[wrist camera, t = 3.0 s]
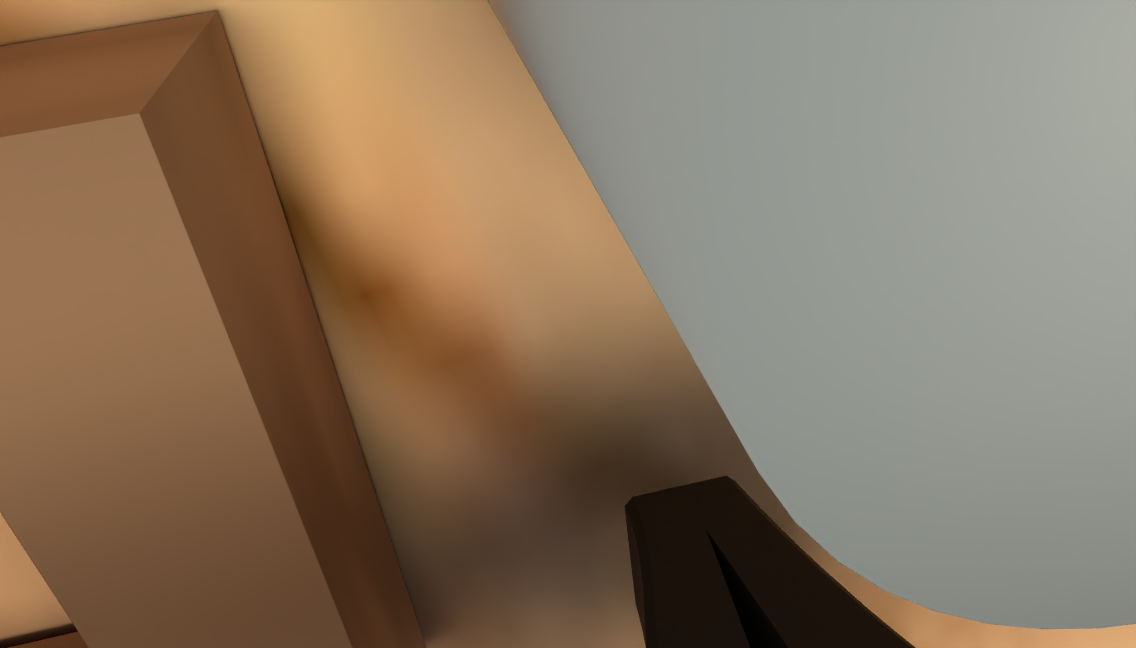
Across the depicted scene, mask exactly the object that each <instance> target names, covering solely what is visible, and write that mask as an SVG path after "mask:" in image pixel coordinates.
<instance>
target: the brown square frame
mask: <svg viewBox="0 0 1136 648" xmlns="http://www.w3.org/2000/svg"><path fill="white" fill-rule="evenodd" d="M0 513H1V514H2V516H3V517H4V519H5V520H6V522H7V523H8V525H9V526H10V528H11V530H12V531H13V533H14V534H15V536H16V537H17V539H18V540H19V542H20V543H21V545H22V546H23V548H24V549H25V551H26V552H27V554H28V555H29V557H30V559H31V560H32V562H33V563H34V565H35V566H36V568H37V569H38V571H39V572H40V574H41V575H42V577H43V578H44V580H45V581H46V583H47V584H48V586H49V588H50V589H51V591H52V592H53V594H54V595H55V597H56V598H57V600H58V601H59V603H60V604H61V606H62V607H63V609H64V610H65V612H66V614H67V615H68V617H69V618H70V620H71V621H72V623H73V624H74V626H75V627H76V629H77V630H78V632H75V633H70V634H66V635H61V636H57V637H53V638H48V639H44V640H40V641H35V642H31V643H27V644H22V645H18V646H13V647H9V648H426V646H425V643H424V640H423V637H422V634H421V631H420V628H419V625H418V622H417V619H416V616H415V613H414V610H413V607H412V604H411V601H410V598H409V595H408V591H407V588H406V585H405V582H404V579H403V576H402V573H401V570H400V567H399V564H398V561H397V558H396V555H395V552H394V549H393V546H392V543H391V540H390V536H389V533H388V530H387V527H386V524H385V521H384V518H383V515H382V512H381V509H380V506H379V503H378V500H377V497H376V494H375V491H374V488H373V485H372V481H371V478H370V475H369V472H368V469H367V466H366V463H365V460H364V457H363V454H362V451H361V448H360V445H359V442H358V439H357V436H356V433H355V430H354V426H353V423H352V420H351V417H350V414H349V411H348V408H347V405H346V402H345V399H344V396H343V393H342V390H341V387H340V384H339V381H338V378H337V375H336V372H335V368H334V365H333V362H332V359H331V356H330V353H329V350H328V347H327V344H326V341H325V338H324V335H323V332H322V329H321V326H320V323H319V320H318V317H317V313H316V310H315V307H314V304H313V301H312V298H311V295H310V292H309V289H308V286H307V283H306V280H305V277H304V274H303V271H302V268H301V265H300V262H299V258H298V255H297V252H296V249H295V246H294V243H293V240H292V237H291V234H290V231H289V228H288V225H287V222H286V219H285V216H284V213H283V210H282V207H281V203H280V200H279V197H278V194H277V191H276V188H275V185H274V182H273V179H272V176H271V173H270V170H269V167H268V164H267V161H266V158H265V155H264V152H263V148H262V145H261V142H260V139H259V136H258V133H257V130H256V127H255V124H254V121H253V118H252V115H251V112H250V109H249V106H248V103H247V100H246V97H245V93H244V90H243V87H242V84H241V81H240V78H239V75H238V72H237V69H236V66H235V63H234V60H233V57H232V54H231V51H230V48H229V45H228V42H227V39H226V35H225V32H224V29H223V26H222V23H221V20H220V17H219V14H218V11H212V12H206V13H200V14H194V15H188V16H182V17H176V18H170V19H164V20H158V21H152V22H146V23H139V24H133V25H127V26H121V27H115V28H109V29H103V30H97V31H91V32H85V33H79V34H72V35H66V36H60V37H54V38H48V39H42V40H36V41H30V42H24V43H18V44H12V45H6V46H0Z"/></svg>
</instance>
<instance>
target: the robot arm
mask: <svg viewBox="0 0 1136 648" xmlns="http://www.w3.org/2000/svg"><path fill="white" fill-rule="evenodd" d="M625 513H626V522H627V531H628V540H629V549H630V557H631V566H632V575H633V584H634V593H635V601H636V606H637V610H638V614H639V618H640V622H641V626H642V630H643V635H644V640H645V645H646V648H915V647H914V646H913V645H911V644H910V643H909V642H908V641H906V640H905V639H904V638H903V637H902V636H900V635H899V634H898V633H897V632H895V631H894V630H893V629H892V628H890V627H889V626H888V625H887V624H885V623H884V622H883V621H882V620H881V619H880V618H878V617H877V616H876V615H875V614H874V613H872V612H871V611H870V610H869V609H868V608H867V607H865V606H864V605H863V604H862V603H861V602H860V601H858V600H857V599H856V598H855V597H854V596H853V595H852V594H851V593H849V592H848V591H847V590H846V589H845V588H844V587H843V586H842V585H840V584H839V583H838V582H837V581H836V580H835V579H834V578H833V577H831V576H830V575H829V574H828V573H827V572H826V571H825V570H824V569H823V568H821V567H820V566H819V565H818V564H817V563H816V562H815V561H814V560H813V559H812V558H811V557H810V556H809V555H807V554H806V553H805V552H804V551H803V550H802V549H801V548H800V547H799V546H798V545H797V544H796V543H795V542H794V541H793V540H792V539H791V538H790V537H789V536H788V535H787V534H786V533H785V532H784V531H783V530H782V529H781V528H780V527H779V526H778V525H777V524H776V523H775V522H774V521H773V520H772V519H771V518H770V517H769V516H768V515H767V514H766V513H765V512H764V511H763V510H762V509H761V508H760V507H759V506H758V505H757V504H756V503H755V502H754V501H753V500H752V499H751V498H750V497H749V496H748V495H747V494H746V492H745V491H744V490H743V489H742V488H741V487H740V486H739V485H738V484H737V483H736V482H735V481H734V480H732V479H731V478H729V477H728V476H723V477H719V478H714V479H710V480H705V481H701V482H697V483H692V484H688V485H683V486H679V487H674V488H670V489H666V490H661V491H657V492H652V493H648V494H643V495H639V496H635V497H632V498H631V499H630V500H629V502H628V503H627V504H626V505H625Z"/></svg>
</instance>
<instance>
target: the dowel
mask: <svg viewBox="0 0 1136 648" xmlns="http://www.w3.org/2000/svg"><path fill="white" fill-rule="evenodd" d="M488 2H489V4H490V6H491V7H492V9H493V11H494V13H495V14H496V16H497V18H498V20H499V21H500V23H501V25H502V27H503V28H504V30H505V32H506V34H507V35H508V37H509V39H510V41H511V42H512V44H513V46H514V47H515V49H516V51H517V53H518V54H519V56H520V58H521V60H522V61H523V63H524V65H525V67H526V68H527V70H528V72H529V74H530V75H531V77H532V79H533V81H534V82H535V84H536V86H537V88H538V89H539V91H540V93H541V95H542V96H543V98H544V100H545V101H546V103H547V105H548V107H549V108H550V110H551V112H552V114H553V115H554V117H555V119H556V121H557V122H558V124H559V126H560V128H561V129H562V131H563V133H564V135H565V136H566V138H567V140H568V142H569V143H570V145H571V147H572V149H573V150H574V152H575V154H576V156H577V157H578V159H579V161H580V162H581V164H582V166H583V168H584V169H585V171H586V173H587V175H588V176H589V178H590V180H591V182H592V183H593V185H594V187H595V189H596V190H597V192H598V194H599V196H600V197H601V199H602V201H603V203H604V204H605V206H606V208H607V210H608V211H609V213H610V215H611V217H612V218H613V220H614V222H615V223H616V225H617V227H618V229H619V230H620V232H621V234H622V236H623V237H624V239H625V241H626V243H627V244H628V246H629V248H630V250H631V251H632V253H633V255H634V257H635V258H636V260H637V262H638V264H639V265H640V267H641V269H642V271H643V272H644V274H645V276H646V277H647V279H648V281H649V283H650V284H651V286H652V288H653V290H654V291H655V293H656V295H657V297H658V298H659V300H660V302H661V304H662V305H663V307H664V309H665V311H666V312H667V314H668V316H669V318H670V319H671V321H672V323H673V325H674V326H675V328H676V330H677V332H678V333H679V335H680V337H681V338H682V340H683V342H684V344H685V345H686V347H687V349H688V351H689V352H690V354H691V356H692V358H693V359H694V361H695V363H696V365H697V366H698V368H699V370H700V372H701V373H702V375H703V377H704V379H705V380H706V382H707V384H708V386H709V387H710V389H711V391H712V392H713V394H714V396H715V398H716V399H717V401H718V403H719V405H720V406H721V408H722V410H723V412H724V413H725V415H726V417H727V419H728V420H729V422H730V424H731V426H732V427H733V429H734V431H735V433H736V434H737V436H738V438H739V440H740V441H741V443H742V445H743V447H744V448H745V450H746V452H747V453H748V455H749V457H750V459H751V460H752V462H753V464H754V466H755V467H756V469H757V471H758V473H759V474H760V475H761V477H762V478H763V479H764V481H765V482H766V483H767V485H768V486H769V487H770V489H771V490H772V491H773V493H774V494H775V496H776V497H777V498H778V500H779V501H780V502H781V504H782V505H783V506H784V508H785V509H786V510H787V512H788V513H789V514H790V516H791V517H792V518H793V520H794V521H795V522H796V523H797V524H798V525H799V526H800V527H801V528H802V529H803V530H804V531H805V532H807V533H808V534H809V535H810V536H811V537H812V538H813V539H814V540H815V541H816V542H817V543H818V544H820V545H821V546H822V547H823V548H824V549H825V550H826V551H827V552H828V553H829V554H830V555H831V556H833V557H834V558H835V559H836V560H837V561H838V562H840V563H841V564H843V565H845V566H846V567H848V568H849V569H851V570H853V571H854V572H856V573H857V574H859V575H861V576H862V577H864V578H865V579H867V580H869V581H870V582H872V583H873V584H875V585H876V586H878V587H880V588H881V589H883V590H885V591H887V592H889V593H892V594H894V595H897V596H899V597H902V598H904V599H907V600H909V601H911V602H914V603H916V604H919V605H921V606H924V607H926V608H928V609H931V610H933V611H937V612H941V613H945V614H949V615H954V616H958V617H962V618H966V619H970V620H974V621H979V622H983V623H987V624H996V625H1006V626H1016V627H1026V628H1036V629H1078V628H1105V627H1113V626H1121V625H1129V624H1136V0H488Z"/></svg>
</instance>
